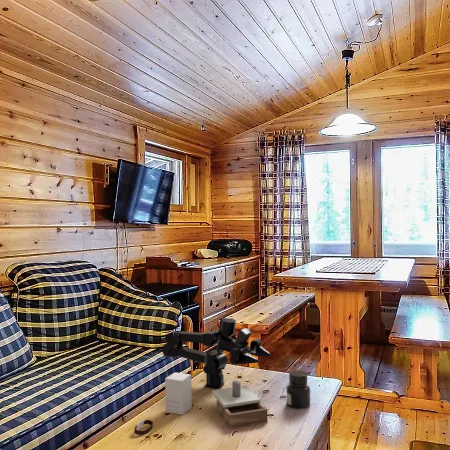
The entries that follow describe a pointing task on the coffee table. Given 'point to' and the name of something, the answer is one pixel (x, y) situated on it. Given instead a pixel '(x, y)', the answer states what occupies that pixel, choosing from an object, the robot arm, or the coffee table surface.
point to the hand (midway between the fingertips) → (264, 358)
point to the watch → (139, 426)
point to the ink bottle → (298, 390)
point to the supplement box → (178, 393)
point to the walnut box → (243, 414)
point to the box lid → (235, 395)
